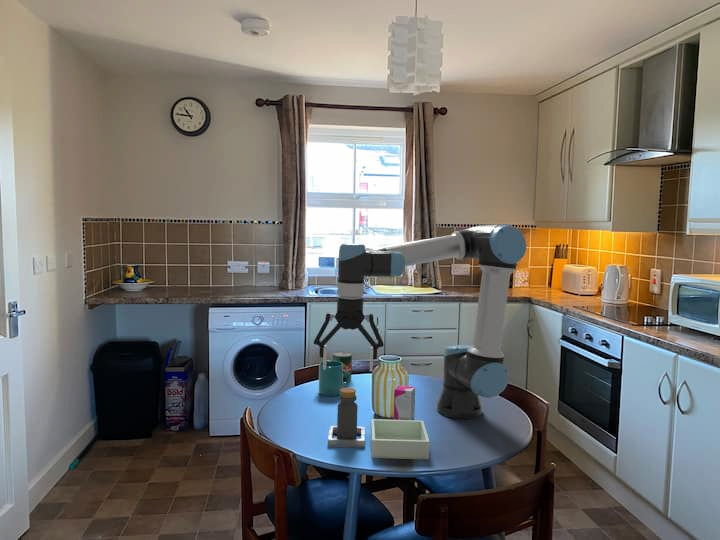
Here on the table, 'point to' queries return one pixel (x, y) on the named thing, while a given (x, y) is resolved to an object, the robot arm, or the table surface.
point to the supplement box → (404, 403)
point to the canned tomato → (344, 362)
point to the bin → (399, 439)
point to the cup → (332, 378)
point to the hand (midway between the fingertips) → (347, 369)
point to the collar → (346, 442)
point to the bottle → (347, 414)
